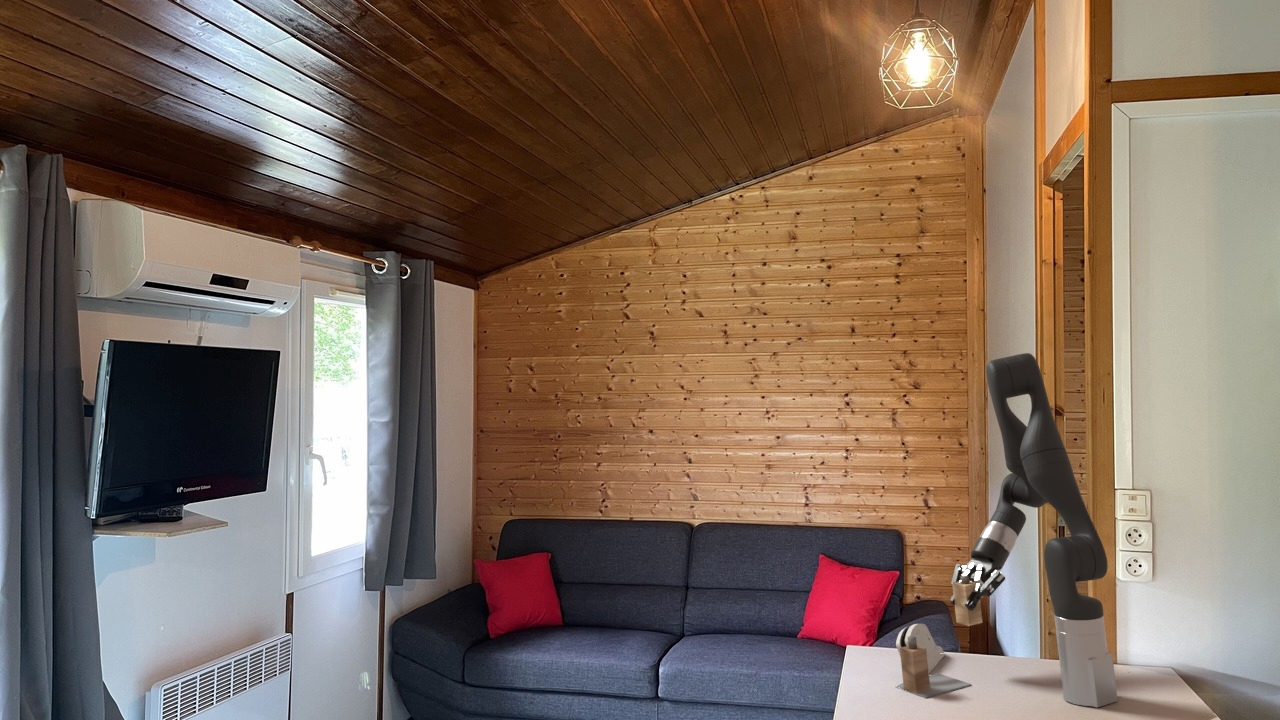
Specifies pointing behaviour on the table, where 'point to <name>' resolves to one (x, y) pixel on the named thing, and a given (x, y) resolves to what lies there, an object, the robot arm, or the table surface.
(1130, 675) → the table surface
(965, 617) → the wooden peg block
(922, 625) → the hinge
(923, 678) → the mount
